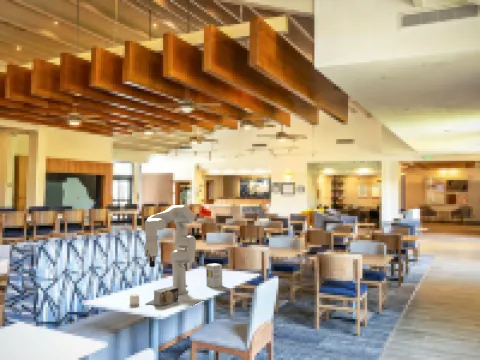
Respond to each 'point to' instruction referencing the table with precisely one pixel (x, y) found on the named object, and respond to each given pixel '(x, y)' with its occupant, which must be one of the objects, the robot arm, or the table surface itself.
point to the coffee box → (165, 295)
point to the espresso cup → (134, 300)
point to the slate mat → (155, 304)
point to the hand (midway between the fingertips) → (152, 266)
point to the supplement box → (214, 275)
